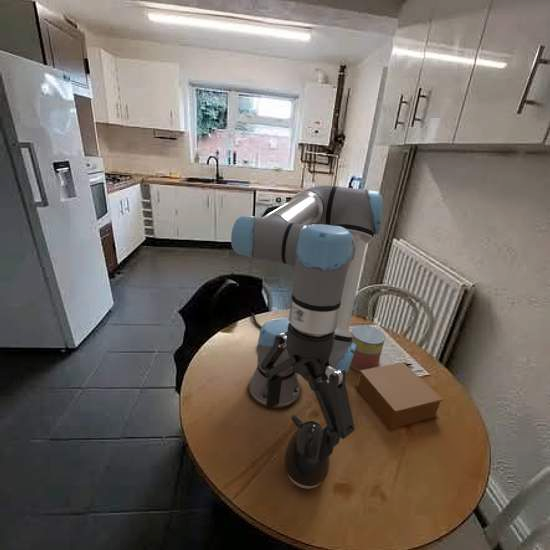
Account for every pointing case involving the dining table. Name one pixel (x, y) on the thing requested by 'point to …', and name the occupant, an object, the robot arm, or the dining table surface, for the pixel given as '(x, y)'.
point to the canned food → (366, 347)
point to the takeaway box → (398, 394)
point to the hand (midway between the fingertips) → (296, 428)
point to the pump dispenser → (306, 455)
